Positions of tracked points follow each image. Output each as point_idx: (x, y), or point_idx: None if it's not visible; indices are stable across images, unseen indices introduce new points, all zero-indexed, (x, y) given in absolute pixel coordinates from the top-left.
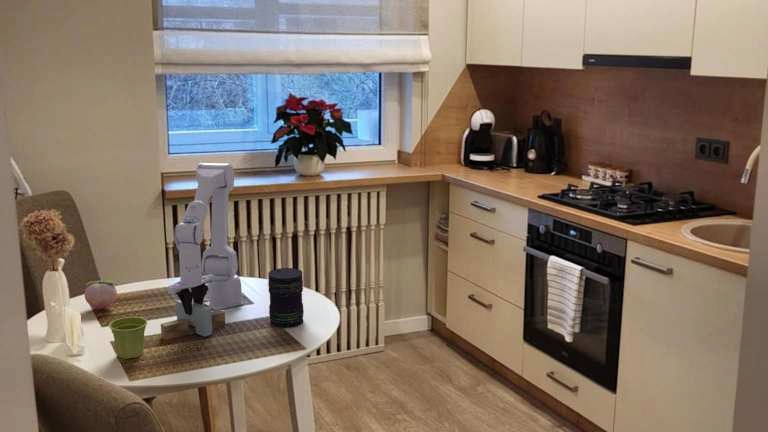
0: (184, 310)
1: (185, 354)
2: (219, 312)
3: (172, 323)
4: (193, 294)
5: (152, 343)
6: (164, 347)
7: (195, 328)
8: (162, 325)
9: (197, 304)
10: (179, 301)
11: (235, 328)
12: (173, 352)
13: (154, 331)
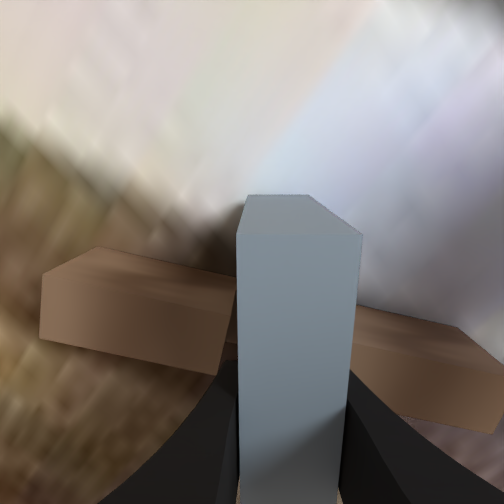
0: (217, 374)
1: (76, 481)
2: (467, 412)
3: (109, 336)
4: (388, 497)
5: (20, 277)
6: (44, 362)
7: None
8: (43, 302)
9: (318, 482)
10: (253, 280)
11: (430, 433)
12: (48, 433)
13: (117, 126)
